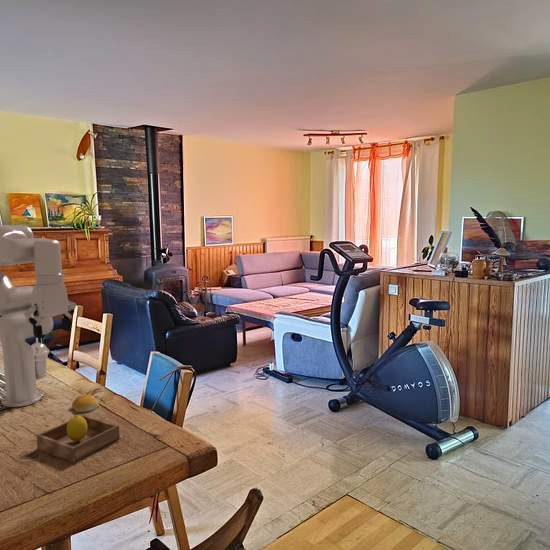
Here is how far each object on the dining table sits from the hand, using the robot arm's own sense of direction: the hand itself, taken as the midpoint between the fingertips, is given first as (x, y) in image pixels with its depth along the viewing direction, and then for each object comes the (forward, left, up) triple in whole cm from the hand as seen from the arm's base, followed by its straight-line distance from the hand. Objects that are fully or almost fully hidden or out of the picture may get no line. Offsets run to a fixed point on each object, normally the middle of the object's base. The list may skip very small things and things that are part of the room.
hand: (52, 334), depth 149 cm
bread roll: (-2, +11, -29) cm, 31 cm away
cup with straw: (-44, +23, -28) cm, 57 cm away
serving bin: (+19, -7, -28) cm, 35 cm away
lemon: (+19, -7, -28) cm, 34 cm away
